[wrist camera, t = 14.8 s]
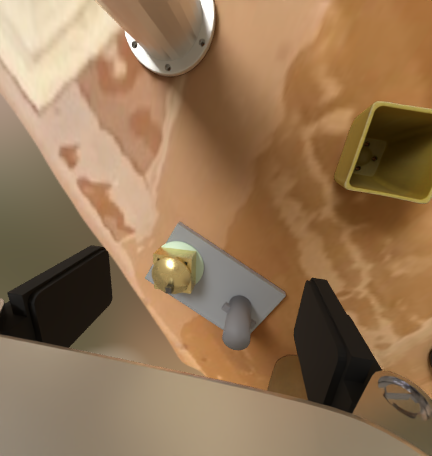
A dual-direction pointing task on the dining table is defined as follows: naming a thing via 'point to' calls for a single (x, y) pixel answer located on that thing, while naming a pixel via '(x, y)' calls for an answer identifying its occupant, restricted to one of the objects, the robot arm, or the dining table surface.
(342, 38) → the dining table surface
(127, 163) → the dining table surface
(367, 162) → the flower pot
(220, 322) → the board
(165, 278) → the gold domed block
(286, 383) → the plant pot
